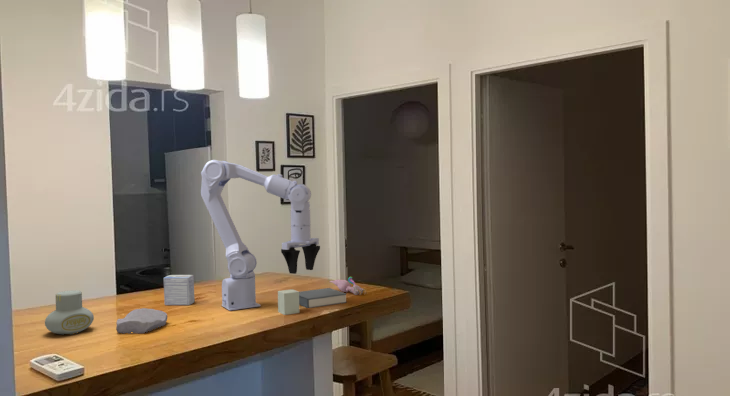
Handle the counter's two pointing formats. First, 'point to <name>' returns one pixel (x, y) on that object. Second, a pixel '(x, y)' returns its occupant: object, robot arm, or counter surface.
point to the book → (321, 297)
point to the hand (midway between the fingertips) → (301, 271)
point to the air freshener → (69, 314)
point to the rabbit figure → (349, 286)
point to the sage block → (288, 302)
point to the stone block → (141, 321)
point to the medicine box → (179, 290)
